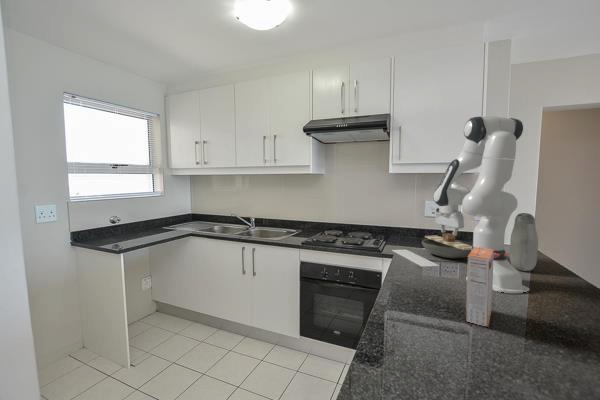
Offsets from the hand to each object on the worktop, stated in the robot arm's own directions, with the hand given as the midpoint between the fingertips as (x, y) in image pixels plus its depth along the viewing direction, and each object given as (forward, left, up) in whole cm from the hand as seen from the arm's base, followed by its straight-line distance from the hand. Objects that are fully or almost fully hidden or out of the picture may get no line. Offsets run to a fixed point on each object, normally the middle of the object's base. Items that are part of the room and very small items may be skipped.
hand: (448, 233), depth 155 cm
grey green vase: (-27, -20, -14) cm, 36 cm away
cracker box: (-67, +37, -14) cm, 77 cm away
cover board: (0, 0, -5) cm, 5 cm away
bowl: (0, 0, -14) cm, 14 cm away
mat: (0, +21, -13) cm, 25 cm away
